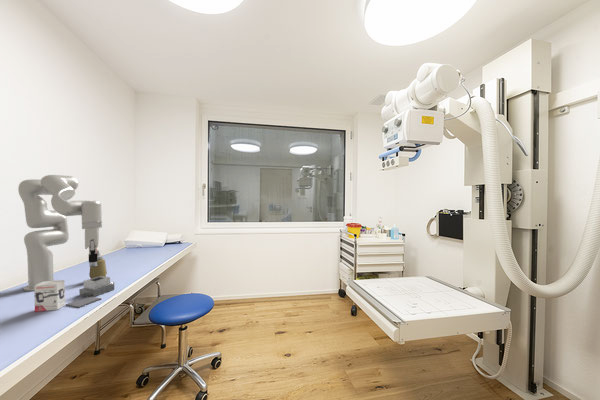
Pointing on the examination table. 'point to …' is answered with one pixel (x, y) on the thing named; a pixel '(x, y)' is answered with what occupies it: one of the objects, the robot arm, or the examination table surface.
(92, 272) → the squeeze bottle
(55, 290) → the ink box
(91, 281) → the block
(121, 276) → the examination table surface
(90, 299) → the mat
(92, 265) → the peg
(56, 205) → the robot arm
